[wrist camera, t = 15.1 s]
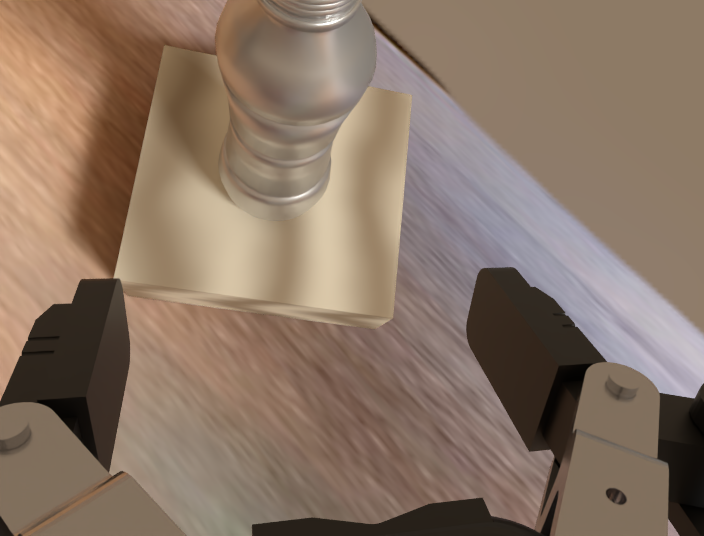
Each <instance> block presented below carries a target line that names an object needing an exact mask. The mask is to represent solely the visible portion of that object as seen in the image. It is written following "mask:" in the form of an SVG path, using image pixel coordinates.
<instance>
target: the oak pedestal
mask: <svg viewBox="0 0 704 536" xmlns="http://www.w3.org/2000/svg"><path fill="white" fill-rule="evenodd" d="M411 102H412V95H409V94H404V93H399V92H394V91H389V90H384V89H379V88H374V87H369V86H368V87H367V89H366V91H365V93H364V94H363V96H362V98H361V99H360V101H359V102H358V103H357V105H356V106H355V107H354V109H353V110H352V111H351V113H350V114H349V115H348V117H347V118H346V119H345V120H344V122H343V123H342V125H341V127H340V129H339V131H338V133H337V134H336V137H335V139H334V141H333V145H332V150H331V171H330V180H329V183H328V186H327V189H326V191H325V193H324V194H323V196H322V197H321V199H320V200H319V201H318V202H317V203H316V204H315V205H314V206H313V207H312V208H310V209H309V210H308V211H306V212H305V213H304V214H302V215H300V216H298V217H296V218H293V219H289V220H285V221H269V220H263V219H260V218H257V217H254V216H252V215H250V214H248V213H246V212H244V211H243V210H242V209H241V208H239V207H238V206H237V205H236V204H235V203H234V202H233V200H232V199H231V198H230V196H229V195H228V193H227V191H226V189H225V187H224V185H223V183H222V181H221V177H220V174H219V166H218V160H219V153H220V150H221V146H222V143H223V140H224V138H225V135H226V133H227V131H228V126H229V120H230V114H229V104H228V97H227V93H226V90H225V86H224V83H223V79H222V76H221V72H220V69H219V66H218V60H217V56H216V55H211V54H206V53H201V52H197V51H192V50H187V49H182V48H177V47H172V46H167V45H164V48H163V53H162V58H161V62H160V67H159V71H158V76H157V81H156V85H155V90H154V94H153V99H152V104H151V108H150V113H149V118H148V122H147V127H146V131H145V136H144V141H143V145H142V150H141V154H140V159H139V164H138V168H137V173H136V177H135V182H134V187H133V191H132V196H131V200H130V205H129V210H128V214H127V219H126V223H125V228H124V233H123V237H122V242H121V247H120V251H119V256H118V260H117V265H116V270H115V274H114V278H119V279H120V280H121V283H122V288H123V291H124V292H125V293H126V294H127V295H128V296H133V297H140V298H147V299H155V300H162V301H169V302H177V303H184V304H192V305H199V306H206V307H214V308H221V309H229V310H236V311H243V312H251V313H258V314H265V315H273V316H280V317H288V318H295V319H302V320H310V321H317V322H325V323H332V324H339V325H347V326H354V327H361V328H369V329H376V328H378V327H379V326H381V325H383V324H384V323H386V322H388V321H389V320H391V319H392V318H393V311H394V299H395V288H396V276H397V265H398V253H399V241H400V230H401V218H402V206H403V195H404V183H405V172H406V160H407V148H408V137H409V125H410V113H411Z"/></svg>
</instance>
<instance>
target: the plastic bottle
mask: <svg viewBox="0 0 704 536" xmlns="http://www.w3.org/2000/svg"><path fill="white" fill-rule="evenodd" d="M361 1H362V0H227V3H226V5H225V7H224V9H223V11H222V13H221V15H220V18H219V20H218V23H217V27H216V33H215V45H216V54H217V60H218V66H219V69H220V72H221V76H222V79H223V83H224V86H225V90H226V93H227V97H228V104H229V114H230V120H229V126H228V131H227V133H226V135H225V138H224V140H223V143H222V146H221V150H220V153H219V160H218V166H219V174H220V177H221V181H222V183H223V185H224V187H225V189H226V191H227V193H228V195H229V196H230V198H231V199H232V200H233V202H234V203H235V204H236V205H237V206H238V207H239V208H241V209H242V210H243V211H244V212H246V213H248V214H250V215H252V216H254V217H257V218H260V219H263V220H269V221H285V220H289V219H293V218H296V217H298V216H300V215H302V214H304V213H305V212H306V211H308V210H309V209H310V208H312V207H313V206H314V205H315V204H316V203H317V202H318V201H319V200H320V199H321V197H322V196H323V194H324V193H325V191H326V189H327V186H328V183H329V180H330V171H331V150H332V145H333V141H334V139H335V137H336V134H337V133H338V131H339V129H340V127H341V125H342V123H343V122H344V120H345V119H346V118H347V117H348V115H349V114H350V113H351V111H352V110H353V109H354V107H355V106H356V105H357V103H358V102H359V101H360V99H361V98H362V96H363V94H364V93H365V91H366V89H367V87H368V86H369V84H370V82H371V81H372V78H373V75H374V72H375V68H376V57H377V51H376V39H375V32H374V27H373V25H372V22H371V19H370V17H369V15H368V13H367V12H366V10H365V8H364V7H363V5H362V4H361Z"/></svg>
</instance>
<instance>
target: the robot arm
mask: <svg viewBox="0 0 704 536" xmlns="http://www.w3.org/2000/svg"><path fill="white" fill-rule="evenodd" d="M466 331H467V339H468V343H469V346H470V348H471V350H472V352H473V353H474V355H475V357H476V359H477V360H478V362H479V364H480V366H481V367H482V369H483V371H484V373H485V374H486V376H487V378H488V380H489V382H490V383H491V385H492V387H493V389H494V390H495V392H496V394H497V396H498V397H499V399H500V401H501V403H502V404H503V406H504V408H505V410H506V411H507V413H508V415H509V417H510V418H511V420H512V422H513V424H514V426H515V427H516V429H517V431H518V433H519V434H520V436H521V438H522V440H523V441H524V443H525V445H526V447H527V448H528V450H529V452H530V451H540V450H550V449H551V451H552V452H553V454H554V458H553V461H552V463H551V466H550V469H549V473H548V477H547V481H546V486H545V490H544V494H543V498H542V502H541V506H540V510H539V514H538V518H537V522H536V526H535V530H533V529H531V528H529V527H527V526H524V525H522V524H519V523H516V522H513V521H511V520H507V519H503V518H498V517H493V516H491V515H490V513H489V511H488V509H487V506H486V504H485V502H484V500H483V498H476V499H467V500H459V501H450V502H441V503H433V504H428V505H425V506H423V507H420V508H418V509H415V510H413V511H410V512H407V513H405V514H402V515H400V516H397V517H395V518H392V519H390V520H387V521H384V522H382V523H379V524H364V523H355V522H346V521H338V520H329V519H320V518H305V519H296V520H288V521H279V522H270V523H262V524H253V525H252V536H668V519H669V520H670V522H671V523H672V525H673V526H674V528H675V529H676V531H677V532H678V534H679V535H680V536H704V384H703V385H702V386H701V387H700V389H699V391H698V393H697V395H696V397H695V399H693V398H687V397H681V396H675V395H669V394H663V393H659V392H658V389H657V388H656V386H655V385H654V384H653V383H652V382H651V381H650V380H649V379H648V378H647V377H646V376H644V375H643V374H641V373H640V372H638V371H636V370H634V369H632V368H630V367H627V366H625V365H621V364H617V363H610V362H607V361H606V360H605V359H604V358H603V357H602V355H601V354H600V353H599V352H598V351H597V349H596V348H595V347H594V346H593V345H592V344H591V342H590V341H589V340H588V339H587V338H586V337H585V335H584V334H583V333H582V332H581V331H580V329H579V328H578V327H575V324H574V322H573V321H572V320H571V319H570V318H569V316H566V315H565V312H564V311H563V309H562V308H561V307H560V306H559V305H558V303H557V302H556V301H555V300H554V299H553V298H551V297H550V296H548V295H547V294H545V293H544V292H542V291H541V290H539V289H538V288H536V287H530V285H529V284H528V283H527V282H526V280H525V279H524V278H523V277H522V276H521V274H520V273H519V272H518V271H517V270H516V269H515V268H513V267H505V268H483V269H481V270H480V271H479V273H478V276H477V280H476V284H475V288H474V293H473V297H472V302H471V306H470V310H469V315H468V319H467V326H466ZM129 363H130V339H129V331H128V324H127V317H126V310H125V302H124V295H123V288H122V283H121V280H120V279H119V278H110V279H82V280H81V281H80V282H79V285H78V288H77V290H76V293H75V296H74V299H73V301H72V304H53V305H52V306H51V307H50V308H49V309H48V310H47V311H45V312H44V313H43V314H42V315H41V316H40V317H39V318H37V319H36V320H35V323H34V325H33V327H32V330H31V332H30V334H29V337H28V341H26V343H25V346H24V348H23V350H22V356H20V357H19V360H18V362H17V364H16V366H15V369H14V371H13V373H12V376H11V378H10V380H9V383H8V385H7V387H6V390H5V392H4V394H3V396H2V399H1V401H0V536H186V535H185V533H184V532H183V531H182V530H181V529H180V528H179V527H178V526H177V525H176V524H175V523H174V522H173V520H172V519H171V518H170V517H169V516H168V515H167V514H166V513H165V512H164V511H163V510H162V509H161V507H160V506H159V505H158V504H157V503H156V502H155V501H154V500H153V499H152V498H151V497H150V496H149V494H148V493H147V492H146V491H145V490H144V489H143V488H142V487H141V486H140V485H139V484H138V483H137V482H136V480H135V479H134V478H133V477H132V476H130V475H129V474H128V473H126V472H123V471H120V472H119V473H117V474H115V475H114V476H112V475H110V474H109V470H110V465H111V459H112V454H113V449H114V444H115V438H116V433H117V428H118V422H119V417H120V412H121V407H122V401H123V396H124V391H125V385H126V380H127V375H128V370H129Z"/></svg>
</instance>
